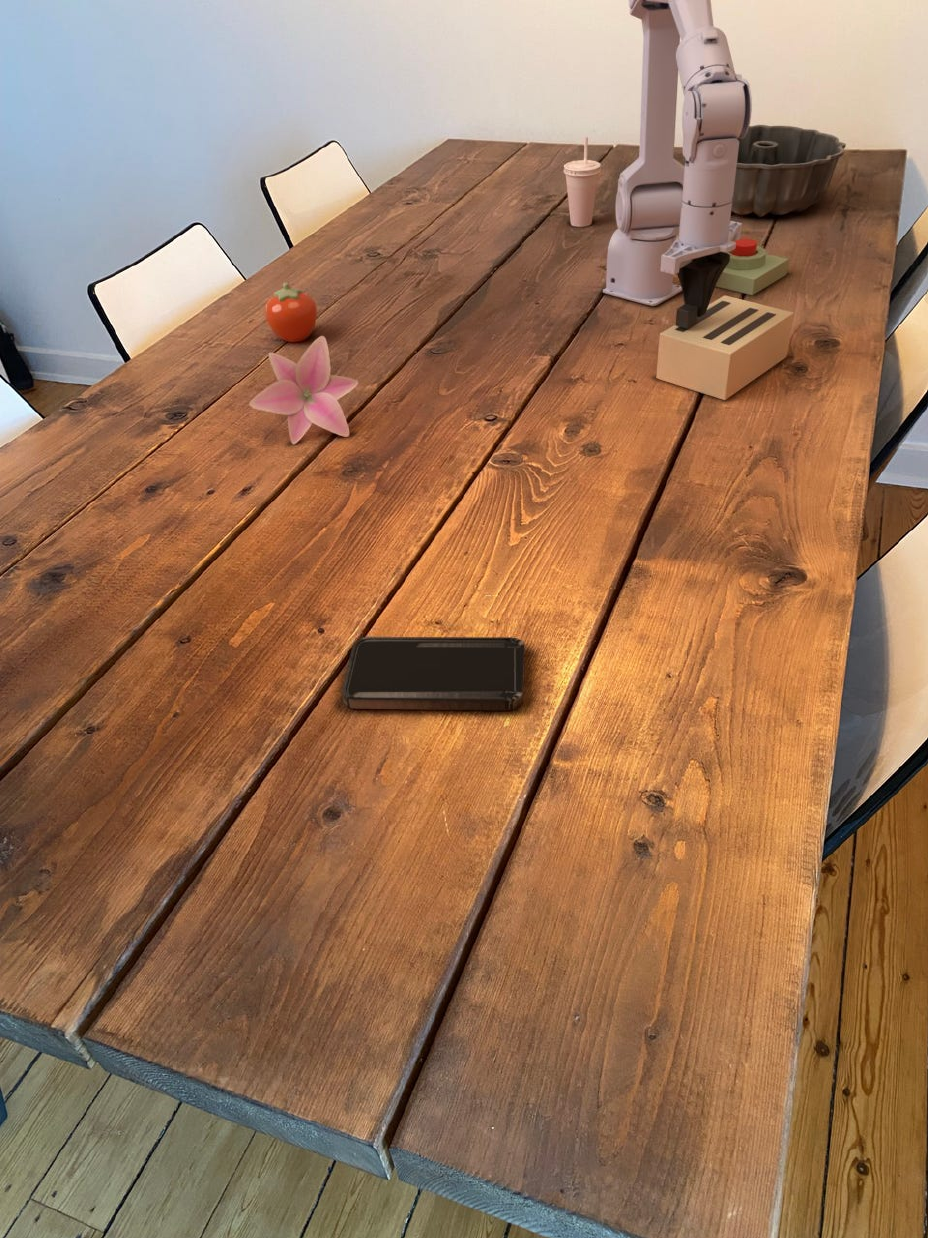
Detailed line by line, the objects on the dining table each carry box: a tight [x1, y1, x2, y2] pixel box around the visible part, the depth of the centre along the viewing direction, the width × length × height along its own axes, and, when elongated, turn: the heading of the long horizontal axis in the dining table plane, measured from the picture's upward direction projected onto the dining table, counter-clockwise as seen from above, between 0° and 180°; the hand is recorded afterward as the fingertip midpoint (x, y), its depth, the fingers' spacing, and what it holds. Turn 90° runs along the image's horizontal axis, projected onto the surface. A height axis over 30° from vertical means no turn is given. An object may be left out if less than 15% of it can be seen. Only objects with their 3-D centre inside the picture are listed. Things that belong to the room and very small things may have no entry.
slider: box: [674, 303, 698, 329], centre depth 117 cm, size 2×2×2 cm
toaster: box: [656, 294, 795, 401], centre depth 120 cm, size 10×15×6 cm, turn 137°
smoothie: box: [563, 136, 602, 228], centre depth 164 cm, size 6×6×14 cm
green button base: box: [715, 245, 790, 296], centre depth 143 cm, size 10×10×4 cm
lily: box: [249, 335, 359, 445], centre depth 114 cm, size 12×12×10 cm
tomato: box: [264, 281, 318, 343], centre depth 135 cm, size 7×7×8 cm
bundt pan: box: [731, 124, 847, 218], centre depth 168 cm, size 26×26×10 cm
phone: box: [341, 636, 525, 711], centre depth 80 cm, size 8×1×15 cm
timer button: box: [731, 237, 758, 257], centre depth 142 cm, size 4×4×2 cm
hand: (695, 313), depth 118 cm, fingers closed
